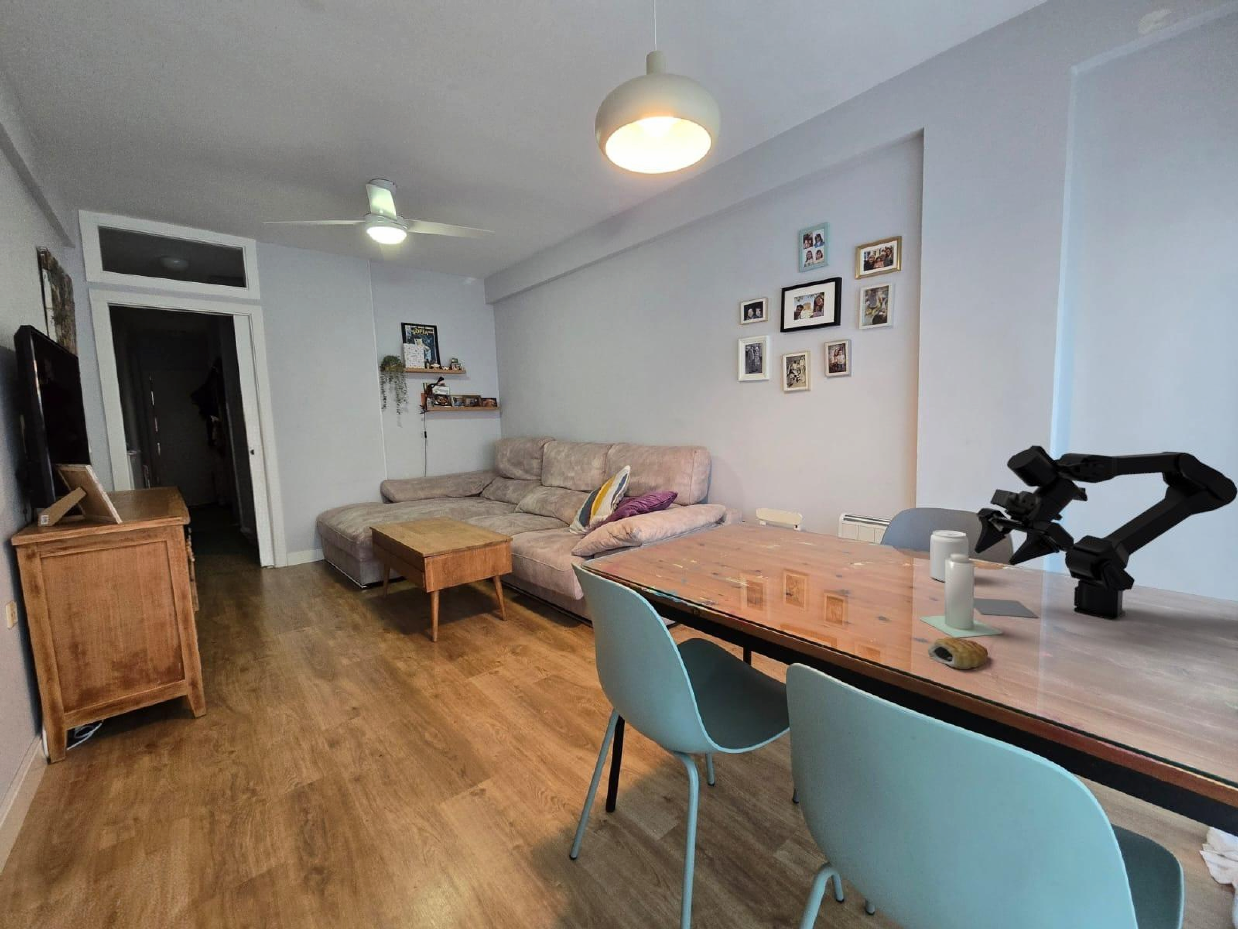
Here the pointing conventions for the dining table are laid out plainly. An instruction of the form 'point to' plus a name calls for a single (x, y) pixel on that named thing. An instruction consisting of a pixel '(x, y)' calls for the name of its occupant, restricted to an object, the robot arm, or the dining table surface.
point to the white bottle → (959, 592)
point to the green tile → (977, 630)
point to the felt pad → (1002, 608)
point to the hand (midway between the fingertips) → (992, 557)
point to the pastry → (958, 652)
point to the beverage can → (945, 550)
